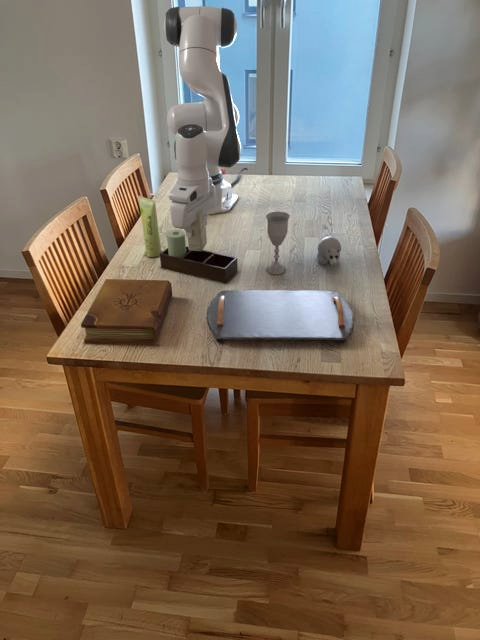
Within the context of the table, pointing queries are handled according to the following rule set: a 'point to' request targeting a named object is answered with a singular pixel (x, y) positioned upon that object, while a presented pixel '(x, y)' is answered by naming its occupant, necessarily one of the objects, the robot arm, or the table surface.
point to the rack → (201, 264)
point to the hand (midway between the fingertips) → (196, 231)
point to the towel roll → (176, 243)
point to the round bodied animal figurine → (329, 251)
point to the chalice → (277, 236)
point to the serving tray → (280, 315)
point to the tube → (150, 226)
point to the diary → (128, 312)
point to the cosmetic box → (198, 233)
